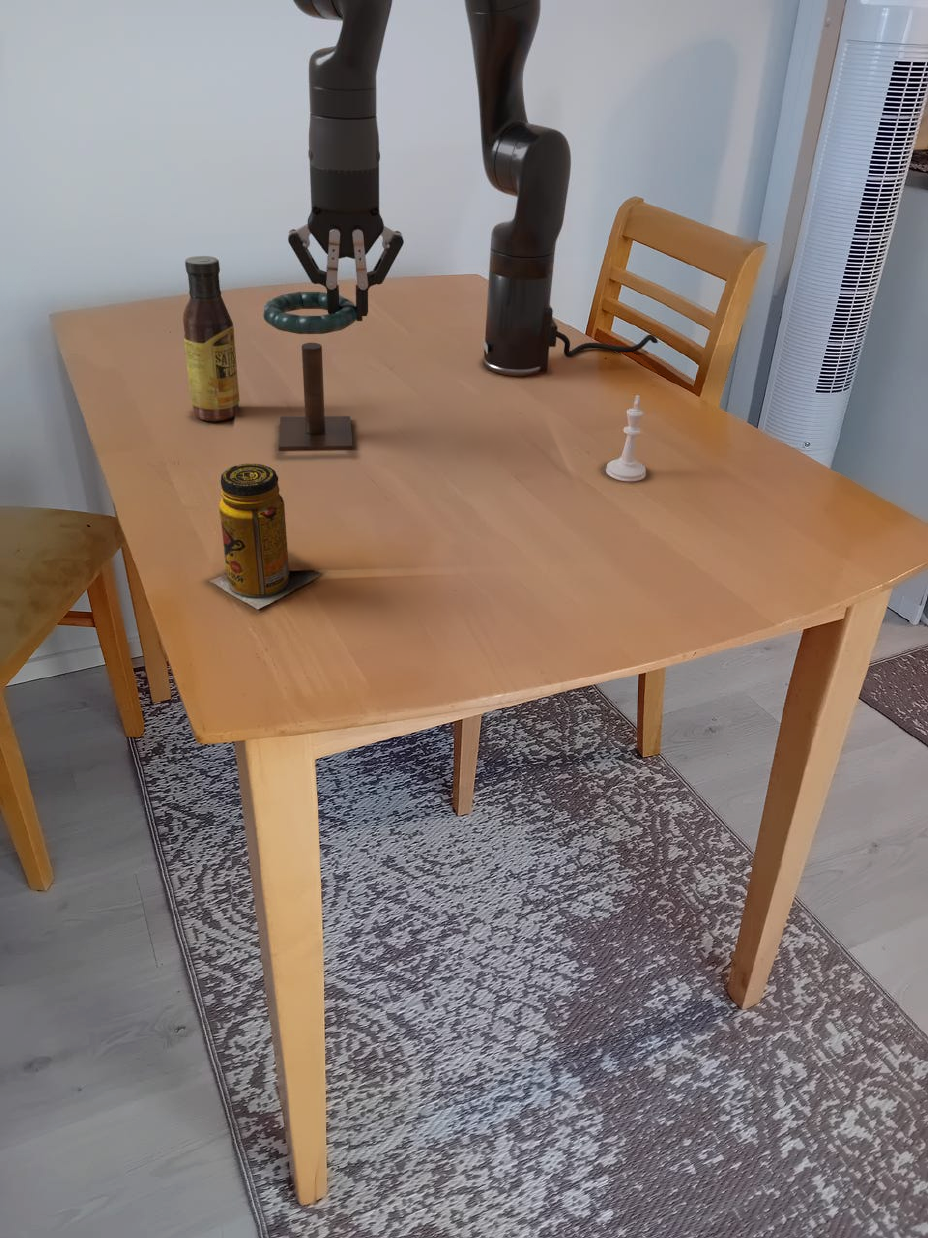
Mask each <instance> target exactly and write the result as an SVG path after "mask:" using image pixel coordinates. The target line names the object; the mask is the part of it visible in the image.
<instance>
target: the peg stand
mask: <svg viewBox="0 0 928 1238" xmlns="http://www.w3.org/2000/svg"><path fill="white" fill-rule="evenodd" d="M301 361H302V378H303V379H302V380H303V381H302V383H303V401H304V416H280V418H279V421H280V422H279V431H278V432H279V433H278V451H279V452H293V451H294V452H295V451H296V452H297V451H299V452H300V451H301V452H303V451H353V446H354V445H353V434H352V422H351V416H350V415H338V416H337V415H333V416H332V415H331V416H330V415H328V416H327V415H326V416H325V394H324V393H325V392H324V368H323V367H324V365H323V346H322V344H320V343H318V342H306V343H303V344H301Z"/></svg>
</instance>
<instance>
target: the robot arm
mask: <svg viewBox="0 0 928 1238" xmlns="http://www.w3.org/2000/svg"><path fill="white" fill-rule="evenodd" d="M292 1H293V3H294V5H295V6H296V8H297V9H299V11H301V12H302V13H303V14H305V15H307V16H308V17H311V18H313V19H314V18H315V19H320V20H326V21H327V20H328V21H337V22H338V21H339V22H342V24H341V29H340V33H339V36H338V40H337V42H336V44H335V45H334V46H329V47H324V48H323V47H322V48H320V49H317V50H315V51H314V52H313V53H312V54H311V55H310V57H309V61H308V95H309V96H308V97H309V125H308V126H309V127H308V152H307V153H308V155H307V156H308V159H309V180H310V182H309V184H310V207H311V209H310V214H309V215H308V217H307V223H306V224H305V225H303V226H301V227H299V228H297V229H295V228H293V229H291V230H289V231H288V235H287V241H288V244H289V246H290V247H291V249H292V251H293V252H294V255H295V256H296V258H297V259H298V261H299V263H300V264H301V266H302V268H303V270H304V272H305V273H306V276H307V277H308V278H309V280H310V282H311V283H312V284H314V285H321V286H323V287H324V288H325V289H326V293H327V308H328V310H327V314H332V313H336V312H338V311H339V295H340V287H339V286H340V285H339V284H338V272H339V260H341V259H344V258H350V259H353V260H354V264H355V273H356V284H355V306H356V312H357V319H356V322H363V317H367V316H368V314H369V289H370V288H371V287H373V286H376V285H381V284H383V283H384V281H385V279H386V277H387V275H388V274H389V272H390V270H391V268H392V266H393V264H394V262H396V261H395V260H396V259H397V257H398V255H399V253H400V251H401V250H402V247H403V246H404V243H405V241H404V237H403V234H402V232H401V231H399V230H393V229H391V228H390V227H387V226H385V223H384V219H383V217H382V216H381V213H380V160H381V152H380V135H379V128H378V127H379V126H378V116H377V113H378V112H377V111H378V105H377V104H378V102H377V99H378V98H377V95H378V92H377V91H378V88H377V76H378V75H377V73H378V69H379V68H378V67H379V63H380V59H381V54H382V49H383V46H384V45H383V44H384V39H385V35H386V31H387V27H388V23H389V18H390V15H391V11H392V6H393V0H292ZM463 1H464V8H465V13H466V17H467V23H468V27H469V28H468V29H469V33H470V41H471V48H472V55H473V56H472V57H473V63H474V71H475V79H476V86H477V96H478V107H479V108H478V110H479V125H480V141H481V142H480V143H481V154H482V162H483V168H484V171H485V175H486V178H487V180H488V182H489V184H490V185H491V186H492V187H493V189H495V190H497V191H498V192H500V193H503V194H505V195H509V196H512V197H515V198H517V199H516V206H515V211H514V216H513V218H512V219H511V220H506V221H502V222H499V223H497V224H496V225H494V227H493V228H492V230H491V234H490V235H491V237H490V250H489V251H490V252H489V266H488V267H489V268H488V285H487V288H488V289H487V299H486V300H487V301H486V304H487V305H486V317H485V318H486V319H485V334H484V337H482V347H483V359H482V365H483V366H484V368H486V369H487V370H489V371H490V372H492V373H497V374H499V375H504V376H509V377H526V376H527V377H528V376H534V375H536V374H540V373H547V372H548V365H549V354H550V348H556V346H557V338H558V339H560V340H561V341H562V342H563V343H564V347H563V354H564V355H565V356H566V357H567V358H571V357H574V356H575V355H577V354H578V353H580V352H581V351H584V350H589V349H597V350H598V349H599V350H605V351H610V352H615V353H634V352H637V351H639V350H641V349H642V348H643V347H644V346H645V345H647V344H648V343H649V341H650V342H651V343H653V344H658V343H659V340H658V339H657V337H655V335H653V334H647V335H646V336H645V337H644V338H643V339H642V340H641V341H640V342H639V343H637V344H635V345H633V346H621V345H619V346H618V345H613V344H608V343H601V342H585V343H582V344H579V345H578V346H575V348H573V349H572V350H570V349H571V341H570V339H569V337H568V336H567V335H566V334H564V333H562V332H560V331H558V328H559V327H558V325H557V323H556V321H555V320H554V319H553V314H554V309H553V307H552V306H551V295H552V284H553V276H554V274H553V273H554V266H555V265H554V264H555V255H556V247H557V246H556V245H557V241H558V238H559V235H560V233H561V230H562V228H563V224H564V219H565V212H566V206H567V198H568V192H569V185H570V178H571V169H572V168H571V167H572V155H571V148H570V144H569V141H568V139H567V137H566V136H565V134H564V133H562V132H561V131H559V130H557V129H555V128H552V127H547V126H544V125H543V126H542V125H538V124H534V123H529V120H528V117H527V112H526V105H525V99H524V98H525V97H524V70H525V66H526V62H527V59H528V56H529V54H530V51H531V48H532V45H533V42H534V39H535V36H536V33H537V30H538V26H539V21H540V16H541V7H542V5H541V4H542V3H541V0H463ZM310 235H312V237H313V238H314V240H315V241H316V242H317V243H318V245H319V246H320V247H321V249H322V250H323V252H324V253H325V254H326V271H324V270H323V269H320V267H319V265H318V264H317V262H316V260H315V258H314V257H313V254H312V253H311V252H310V250H309V247H310V245H311V240H310ZM380 236H381V237H382V239H381V245H382V248H383V251H382V252H381V254H380V256H379V258H378V260H377V262H376V264H375V265H374V267H373V269H372V270H370V271H368V270H367V269H368V268H367V258H366V257H367V254H368V253H369V252H370V251H371V249H372V247H373V246H374V244H376V242H377V240H378V239H379V238H380Z"/></svg>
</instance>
